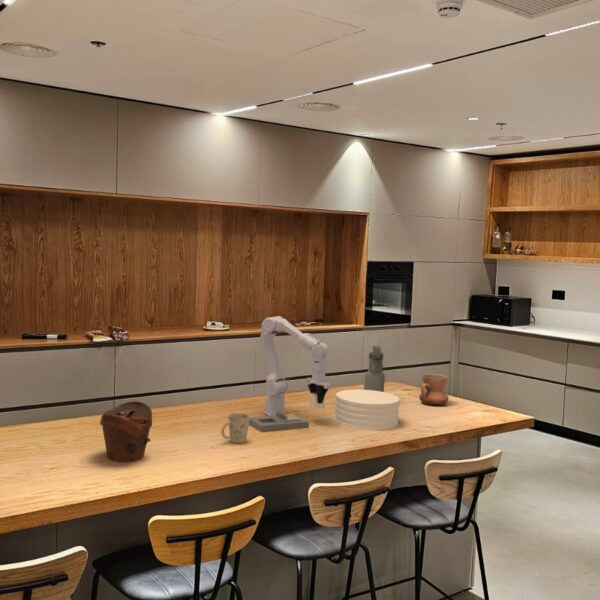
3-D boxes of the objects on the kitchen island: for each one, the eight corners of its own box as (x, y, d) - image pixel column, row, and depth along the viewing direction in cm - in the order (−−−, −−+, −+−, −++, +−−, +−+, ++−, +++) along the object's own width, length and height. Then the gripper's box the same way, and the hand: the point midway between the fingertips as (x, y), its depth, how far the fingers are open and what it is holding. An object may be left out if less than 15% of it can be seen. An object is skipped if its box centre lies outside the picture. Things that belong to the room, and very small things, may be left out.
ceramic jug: (434, 399, 366) (435, 372, 365) (455, 404, 354) (457, 376, 353) (409, 402, 355) (410, 375, 354) (430, 409, 344) (432, 380, 342)
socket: (247, 423, 299) (247, 417, 298) (292, 419, 309) (293, 413, 309) (261, 432, 287) (261, 426, 286) (308, 427, 297) (308, 421, 297)
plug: (309, 406, 306) (310, 389, 305) (319, 405, 308) (320, 389, 308) (314, 409, 302) (315, 391, 302) (324, 408, 305) (325, 391, 304)
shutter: (275, 416, 302) (276, 411, 301) (292, 415, 305) (292, 410, 305) (284, 421, 295) (284, 416, 294) (301, 420, 299) (301, 415, 298)
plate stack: (360, 433, 293) (361, 406, 292) (322, 417, 317) (323, 392, 316) (411, 426, 308) (412, 400, 307) (371, 411, 332) (372, 387, 331)
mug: (253, 441, 273) (254, 416, 272) (228, 447, 264) (230, 421, 263) (238, 436, 278) (240, 411, 277) (214, 442, 269) (215, 416, 268)
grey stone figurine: (384, 406, 343) (387, 349, 340) (363, 405, 343) (367, 348, 341) (381, 401, 353) (385, 346, 351) (362, 400, 353) (365, 345, 351)
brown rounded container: (102, 467, 234) (105, 414, 233) (94, 449, 252) (97, 400, 251) (156, 463, 241) (159, 412, 240) (144, 447, 259) (147, 399, 258)
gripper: (302, 368, 308) (300, 398, 309) (320, 374, 296) (318, 406, 297) (315, 367, 312) (313, 397, 313) (334, 373, 299) (332, 405, 301)
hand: (317, 401), depth 305 cm, fingers closed on plug, 4 cm apart
